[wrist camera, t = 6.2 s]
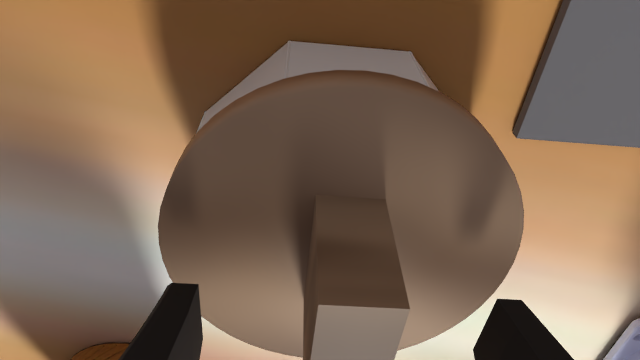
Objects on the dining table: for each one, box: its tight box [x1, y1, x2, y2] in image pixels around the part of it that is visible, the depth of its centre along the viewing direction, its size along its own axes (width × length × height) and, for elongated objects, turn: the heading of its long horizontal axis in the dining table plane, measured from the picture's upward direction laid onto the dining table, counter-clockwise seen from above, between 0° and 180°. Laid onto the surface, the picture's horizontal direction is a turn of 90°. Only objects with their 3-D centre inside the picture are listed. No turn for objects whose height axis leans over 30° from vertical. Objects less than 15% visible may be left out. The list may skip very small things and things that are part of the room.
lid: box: [158, 70, 524, 360], centre depth 12 cm, size 10×10×4 cm
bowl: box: [196, 40, 439, 133], centre depth 15 cm, size 9×9×4 cm
